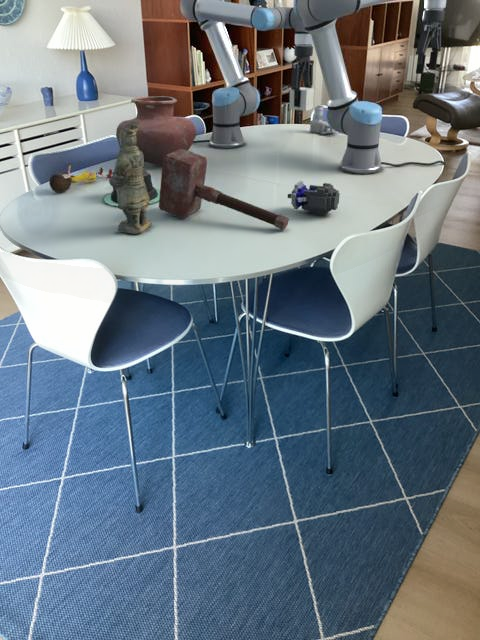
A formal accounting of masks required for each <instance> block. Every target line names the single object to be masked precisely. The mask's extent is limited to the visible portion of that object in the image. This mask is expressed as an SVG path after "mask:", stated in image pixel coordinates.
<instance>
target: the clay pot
mask: <svg viewBox="0 0 480 640" xmlns="http://www.w3.org/2000/svg"><path fill="white" fill-rule="evenodd" d="M130 102H131V103H134V105H135V107H136V112H137V113H136V116H135V117H134V118H130V119H128V120H127V119H126V120H122V121H121V122H120V123H119V124H118V125H117V127H116V133H115V137H116V139H117V142H119V140H118V138H119V133H120V130H121V129H123V128H124V127H125V126H126V125H127V124H128V123H131V122H133V121H137V122H138V123H139V127H138V130H137V131H136V138H137V143H136V146H137V147H138V149H139V150H141V151H142V153H143V156H144V163H147V164H150V165H155V166H163V158H164V156H165V155H167V154H170V153H172V152H174V151H177V150H179V149H184V150H187V151H189V150H190V149H191V147H192V146H193V144H194V143H193V141H195V140H196V136H197V127H196V125H195V124H194V122H193V121H192V120H191V119H190V118H188V117H184V116H174V108H175V105H176V103H177V102H178V100H177V99H176V98H174V97H173V96H165V95H161V96H160V95H159V96H142V97H140V96H139V97H134V98H131V101H130Z"/></svg>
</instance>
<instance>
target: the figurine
mask: <svg viewBox="0 0 480 640" xmlns="http://www.w3.org/2000/svg"><path fill="white" fill-rule="evenodd" d="M71 169H72V167H71V164H70V165H69V166H68V169H67V174H66V173H63V174H61V173H59V172H56V173H53V174H52V175H51V176H50V177H49V181H48V182H49V187H50V189H51V190H52V191H54V192H56V193H64V192H67V191H68V190H69V189H70V188H71V186H72V184H85V183H86V182H92V183H93V182H96V180H95V179H98V178H99V179H110V178H111V176H112V173H113V170H112V168H110V169H108V173H107V174H103V172H104V168H103V167H102V166H101V167H100V168H99V171H98V172H96V171H95V170H94V169H91V170H89V171H85V172H83V173H80V174H76V175H73V174H72V175H71Z"/></svg>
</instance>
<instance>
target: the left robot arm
mask: <svg viewBox="0 0 480 640" xmlns="http://www.w3.org/2000/svg"><path fill="white" fill-rule="evenodd" d="M179 8H180V12H181V15H182V16H183V17H184V18H185V19H186V20H188V21H190V22H198V25H199V27H200V29H201V31H204V32H205V33H206V36H207V38H208V42H209V43H210V46H211V49H212V51H213V54H214V57H215V60H216V62H217V64H218V67H219V70H220V72H221V75H222V78H223V80H224V82H225V85H226V87H221V88H218V89H215V90H214V91H213V92H212V98H211V103H212V119H213V120H212V123H213V125H212V131H211V135H210V139H201V140H194V141H193V144H200V143H201V144H202V143H209V145H210V147H211V148H216V149H235V148H240V147H242V146H244V145H245V140H244V139H245V138H244V136H243V132H242V130H241V127H240V125H241V124H240V118H241V117H244V116H248V115H251V114H253V113H255V112H256V111H257V110H258V108H259V106H260V102H261V95H260V93H259V90H258V89H257V88H256V87H254V86H252V85H251V82H250V79H249V78H247V77H245V75H244V74H243V73H244V72H243V71H242V68H241V65H240V63H239V61H238V60H239V59H238V58H237V55H236V52H235V49H234V46H233V44H232V41H231V38H230V36H229V34H228V31H227V28H226V25H225V24H229V25H234V26H242V27H246V28H253V29H256V30H257V31H262V32H266V31H271V30H272V31H273V30H280V29H293V30H294V45H295V46H294V49H293V50H294V51H293V55H294V56H295V57H296V60H295V62H292V63H291V69H292V70H291V81H290V82H291V84H290V89H292V90H294V107H300V100H301V90H300V87H302V86H301V85H302V81H303V87H304V88H313V85H314V84H313V83H314V63H315V60H313V59H312V60H311V57H312V56H313V55H314V54H313V53H314V43H313V40H312V36H311V34H310V33H308V32H306V31H305V28H304V25H303V21H302V19H300V18H299V17H298V16H297V15H296V13H295V10H294V6H293V7H291V6H289V7H288V6H275V7H274V6H273V7H263V6H255V5H249V4H243V3H236V2H230V1H225V0H180V2H179Z"/></svg>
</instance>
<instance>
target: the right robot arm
mask: <svg viewBox="0 0 480 640" xmlns="http://www.w3.org/2000/svg"><path fill="white" fill-rule="evenodd" d="M394 1H395V0H293V7H294V10H295V13H296V15H297V16H298V17H299V18H300V19H302V21H303V25H304V28H305V31H306V32H308V33H310V34H311V36H312V40H313V48H314V50H315V54H316V58H317V60H318V64H319V67H320V72H321V74H322V79H323V82H324V85H325V88H326V93H327V96H328V100H327V102H326V107H327V110H326V114H325V117H326V122H328V124H329V126H330V127H331V128H332V129H334V130H335V131H336V132H337V133H339V134H343V135H346V136H347V138H346V139H347V140H346V149H345V151H344V154H343V156H342V158H341V160H340V163H339V164H340V170H341V171H343V172H345V173H349V174H355V175H356V174H357V175H369V174H370V175H371V174H376V173H378V172H380V171H382V165H385V166H390V167H394V168H395V167H402V166H403V167H404V166H406V165H416V166H434V165H436V164H442V165H444V166H446V165H447V164H446V162H445V161H444V160H436V161H434V162H417V161H406V162H402V163H397V164H395V163H391V162H385V161H381V155H380V150H379V147H380V145H379V144H380V138H381V137H380V136H381V129H382V128H381V127H382V120H383V108H382V107H381V105H379V104H377V103H375V102H370V101H365V100H364V101H363V100H359V98H358V93H357V92H356V91H355V90H352V88H351V85H350V79H349V76H348V72H347V67H346V65H345V61H344V57H343V53H342V48H341V46H340V42H339V37H338V34H337V30H336V29H337V28H336V26H335V24H336V22H337V20H338V19H339V18H342V17H346V16H348V15H353V14H357V13H358V12H359V11H360V9H363V8H368V7H372V6H376V5H381V4H385V3H390V2H394ZM423 2H424V6H423V7H424V10H423V12H422V13H423V14H422V22H424V23H425V22H426V24H423V25H422V28H421V32H420V35H419V36H420V37H419V39H418V43H417V46H416V47H417V48H416V51H415V56H417V59H416V69H415V74H416V75H417V74H418V75H423V74H424V71H425V64H426V57H427V55H426V52H427V51H428V50H427V49H428V47H429V44H430V47H431V51H430V55H429V62H428V69H427V70H429V71H436V70H437V63H438V57H439V52H441V51H442V23H440V22H443V21H444V19H445V13H446V11H445V10H444V9H446V7H447V6H446V5H447V0H423Z"/></svg>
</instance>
